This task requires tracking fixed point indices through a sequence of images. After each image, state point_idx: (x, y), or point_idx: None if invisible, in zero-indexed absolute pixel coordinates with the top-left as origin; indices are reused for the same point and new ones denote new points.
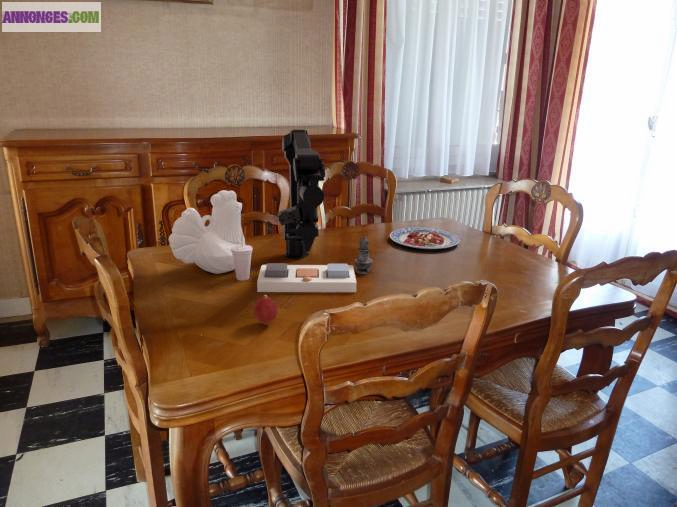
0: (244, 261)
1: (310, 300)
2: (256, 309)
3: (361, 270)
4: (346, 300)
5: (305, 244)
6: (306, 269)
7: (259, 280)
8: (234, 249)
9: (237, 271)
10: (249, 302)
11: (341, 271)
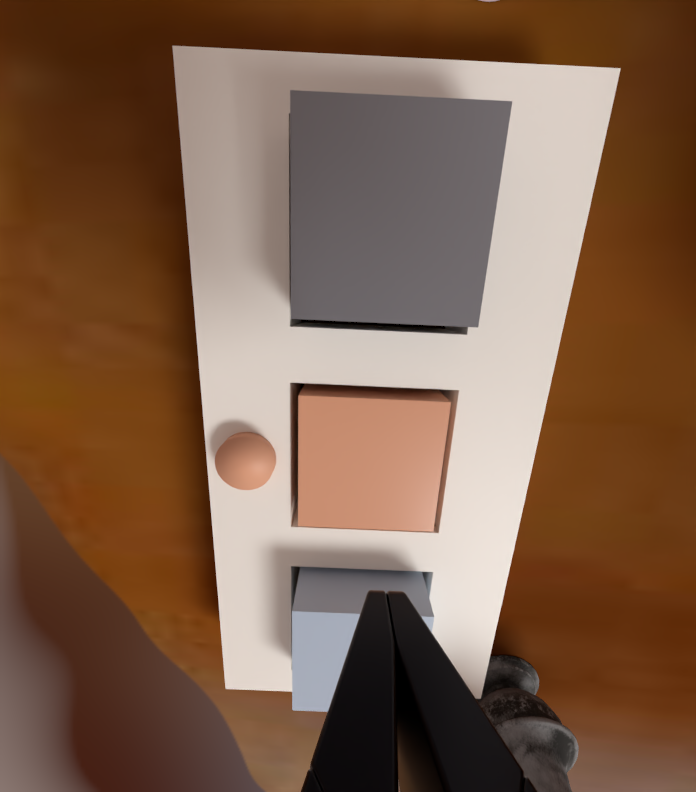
0: None
1: (124, 442)
2: None
3: (489, 687)
4: (148, 591)
5: (325, 723)
6: (419, 464)
7: (213, 68)
8: None
9: None
10: (27, 49)
11: (293, 672)
